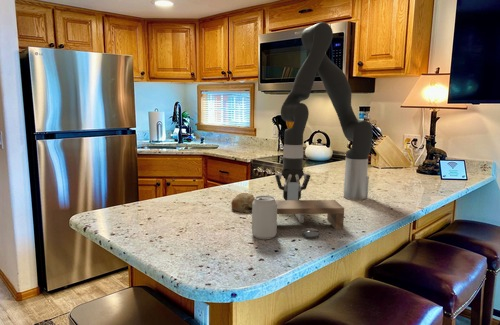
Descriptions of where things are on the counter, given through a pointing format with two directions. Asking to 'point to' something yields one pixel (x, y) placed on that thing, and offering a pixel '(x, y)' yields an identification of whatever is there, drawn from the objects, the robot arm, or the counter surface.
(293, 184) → the mallet tool
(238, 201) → the bread roll
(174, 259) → the counter surface
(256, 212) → the can
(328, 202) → the riser
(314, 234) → the disc
